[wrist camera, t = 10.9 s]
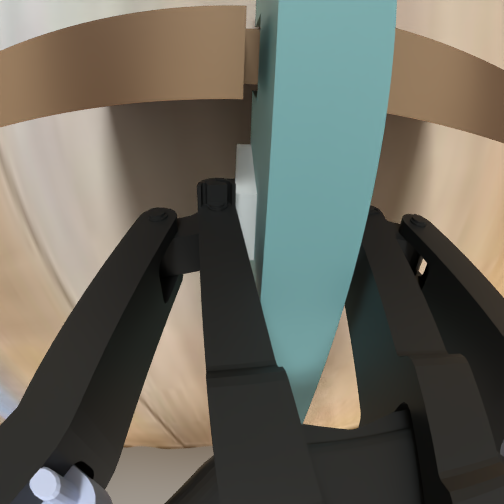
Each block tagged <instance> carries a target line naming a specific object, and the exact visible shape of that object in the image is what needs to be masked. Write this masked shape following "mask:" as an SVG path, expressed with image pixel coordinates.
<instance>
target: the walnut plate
mask: <svg viewBox="0 0 504 504" xmlns="http://www.w3.org/2000/svg"><path fill="white" fill-rule="evenodd" d="M259 47H260V29H246V6H195V7H180V8H169V9H160V10H151V11H144V12H137V13H131V14H125V15H119V16H114V17H109V18H104V19H99V20H95V21H90V22H86V23H82V24H78V25H74V26H71V27H67V28H64V29H60V30H57V31H54V32H50V33H47V34H44V35H41V36H38V37H35V38H32V39H30V40H27V41H24V42H21V43H19V44H16V45H14V46H11V47H9V48H6V49H4V50H1V51H0V127H3V126H7V125H11V124H15V123H19V122H23V121H27V120H32V119H36V118H41V117H46V116H50V115H56V114H61V113H66V112H72V111H78V110H84V109H91V108H98V107H105V106H113V105H122V104H131V103H142V102H154V101H169V100H192V99H243V84H258V69H259ZM387 114H393V115H398V116H403V117H408V118H413V119H418V120H422V121H427V122H431V123H435V124H439V125H443V126H447V127H451V128H455V129H459V130H462V131H466V132H469V133H473V134H476V135H480V136H483V137H486V138H489V139H492V140H496V141H499V142H502V143H504V70H503V69H501V68H499V67H497V66H495V65H493V64H490V63H488V62H486V61H484V60H482V59H480V58H478V57H475V56H473V55H471V54H468V53H466V52H464V51H461V50H459V49H456V48H454V47H451V46H449V45H446V44H443V43H441V42H438V41H435V40H432V39H429V38H426V37H423V36H420V35H417V34H414V33H411V32H408V31H404V30H401V29H397V28H395V42H394V54H393V65H392V75H391V84H390V92H389V100H388V107H387Z"/></svg>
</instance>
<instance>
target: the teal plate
mask: <svg viewBox="0 0 504 504" xmlns="http://www.w3.org/2000/svg"><path fill="white" fill-rule="evenodd" d="M396 6H397V0H256V19H255V27H260V47H259V69H258V91H252V115H251V141H250V144H251V148H252V156H253V165H254V173H255V182H256V190H257V203H256V224H255V244H254V260H250V264H251V268H252V272H253V275H254V279H255V283H256V287H257V291H258V295H259V299H260V302H261V306H262V310H263V314H264V318H265V322H266V326H267V329H268V333H269V337H270V341H271V345H272V349H273V352H274V356H275V360H276V363H277V365H278V367H282V366H283V368H284V369H285V370H286V373H287V376H288V379H289V382H290V386H291V389H292V393H293V396H294V400H295V403H296V407H297V410H298V414H299V418H300V421H301V424H303V421H304V419H305V416H306V414H307V411H308V409H309V406H310V404H311V401H312V398H313V396H314V393H315V390H316V388H317V385H318V382H319V380H320V377H321V374H322V371H323V369H324V366H325V363H326V360H327V357H328V354H329V351H330V348H331V345H332V342H333V339H334V336H335V333H336V330H337V327H338V324H339V320H340V317H341V314H342V311H343V307H344V304H345V301H346V297H347V294H348V290H349V287H350V283H351V280H352V276H353V273H354V269H355V265H356V261H357V258H358V254H359V250H360V246H361V242H362V238H363V234H364V230H365V225H366V221H367V217H368V212H369V208H370V203H371V198H372V194H373V189H374V184H375V179H376V174H377V169H378V163H379V158H380V152H381V146H382V140H383V134H384V128H385V121H386V114H387V107H388V100H389V92H390V84H391V75H392V65H393V54H394V42H395V27H396Z"/></svg>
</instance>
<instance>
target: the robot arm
mask: <svg viewBox="0 0 504 504" xmlns="http://www.w3.org/2000/svg"><path fill="white" fill-rule="evenodd" d="M197 197H198V213H196V214H194V215H191V216H188V217H183V218H177V214H176V212H175V211H174V210H171V209H168V208H155V209H154V208H153V209H150V210H148V211H146V212H144V213H143V214H141V215H140V216H139V218H138V219H137V220H136V222H135V223H134V224H133V225H132V227H131V228H130V229H129V231H128V232H127V233H126V235H125V236H124V237H123V239H122V240H121V241H120V243H119V244H118V245H117V247H116V248H115V249H114V251H113V252H112V254H111V255H110V256H109V258H108V259H107V260H106V262H105V263H104V265H103V266H102V267H101V269H100V270H99V272H98V273H97V275H96V276H95V278H94V279H93V280H92V282H91V283H90V285H89V286H88V288H87V289H86V291H85V292H84V294H83V295H82V297H81V298H80V300H79V301H78V303H77V304H76V306H75V308H74V309H73V311H72V312H71V314H70V315H69V317H68V319H67V320H66V322H65V323H64V325H63V327H62V328H61V330H60V331H59V333H58V335H57V336H56V338H55V340H54V341H53V343H52V345H51V346H50V348H49V350H48V352H47V353H46V355H45V357H44V359H43V360H42V362H41V364H40V366H39V367H38V369H37V371H36V373H35V375H34V377H33V378H32V380H31V382H30V384H29V386H28V388H27V390H26V392H25V394H24V396H23V398H22V400H21V402H20V404H19V406H18V407H17V408H16V409H15V410H14V411H13V412H12V414H11V415H10V416H9V417H8V418H7V419H6V420H5V421H4V422H3V423H2V424H1V425H0V504H112V501H111V498H110V496H109V495H108V493H107V492H106V491H105V488H106V487H107V485H108V483H109V481H110V479H111V477H112V475H113V473H114V471H115V469H116V466H117V463H118V461H119V458H120V455H121V452H122V449H123V446H124V442H125V439H126V436H127V433H128V430H129V427H130V424H131V421H132V417H133V414H134V411H135V408H136V405H137V402H138V399H139V396H140V394H141V391H142V388H143V385H144V382H145V379H146V376H147V373H148V370H149V368H150V365H151V362H152V359H153V356H154V354H155V351H156V348H157V345H158V343H159V340H160V337H161V335H162V332H163V329H164V327H165V324H166V321H167V319H168V316H169V313H170V311H171V308H172V306H173V303H174V300H175V298H176V295H177V293H178V290H179V288H180V285H181V283H182V280H183V274H186V273H191V272H196V271H200V282H201V301H202V318H203V334H204V348H205V361H206V383H207V394H208V405H209V415H210V425H211V435H212V444H213V452H214V456H212V457H211V458H210V459H209V460H207V461H206V462H205V463H204V464H203V465H202V466H201V467H200V468H199V469H198V470H197V471H196V472H195V473H194V474H193V475H192V476H191V477H190V478H189V479H188V481H186V482H185V483H184V485H183V486H182V487H181V488H180V489H179V490H178V491H177V492H176V493H175V494H174V495H173V496H172V497H171V498H170V499H169V500H168V501H167V502H166V503H165V504H504V298H503V297H502V295H501V294H500V293H499V292H498V291H497V290H496V289H495V287H494V286H493V285H492V284H491V283H490V282H489V281H488V280H487V278H486V277H485V276H484V275H483V274H482V273H481V272H480V271H479V270H478V269H477V268H476V267H475V266H474V265H473V263H472V262H471V261H470V260H469V259H468V258H467V257H466V256H465V255H464V254H463V253H462V252H461V251H460V250H459V249H458V248H457V247H456V246H455V245H454V244H453V243H452V242H451V241H450V240H449V239H448V238H447V237H446V236H445V235H444V234H442V233H441V232H440V231H439V230H438V229H437V228H436V227H435V226H434V225H433V224H432V223H431V222H429V221H428V220H427V219H425V218H423V217H422V216H420V215H416V214H414V215H413V214H406V215H404V216H403V217H402V220H401V224H397V223H393V222H389V221H387V220H386V219H385V217H384V215H383V213H382V212H381V211H380V210H379V209H378V208H376V207H374V206H371V205H370V208H369V212H368V217H367V221H366V225H365V230H364V234H363V238H362V242H361V246H360V250H359V254H358V258H357V261H356V265H355V269H354V273H353V276H352V280H351V283H350V287H349V290H348V294H347V297H346V301H345V309H346V315H347V320H348V326H349V332H350V338H351V344H352V351H353V357H354V364H355V371H356V378H357V386H358V393H359V401H360V410H361V419H360V424H359V428H357V429H353V430H347V429H337V428H329V427H321V426H313V425H306V424H301V421H300V418H299V414H298V410H297V407H296V403H295V400H294V396H293V393H292V389H291V386H290V382H289V379H288V376H287V373H286V370H285V369H284V368H283V366H282V367H278V365H277V363H276V360H275V356H274V352H273V349H272V345H271V341H270V337H269V333H268V329H267V326H266V322H265V318H264V314H263V310H262V306H261V302H260V299H259V295H258V291H257V287H256V283H255V279H254V275H253V272H252V268H251V264H250V260H254V244H255V224H256V203H257V190H256V182H255V173H254V165H253V156H252V148H251V144H237V149H236V173H235V179H224V178H211V179H206V180H202V181H201V182H199V183H198V185H197ZM423 258H424V260H425V261H426V262H427V266H426V268H425V271H424V273H423V275H422V274H421V273H420V272H419V268H420V265H421V263H422V260H423Z"/></svg>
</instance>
